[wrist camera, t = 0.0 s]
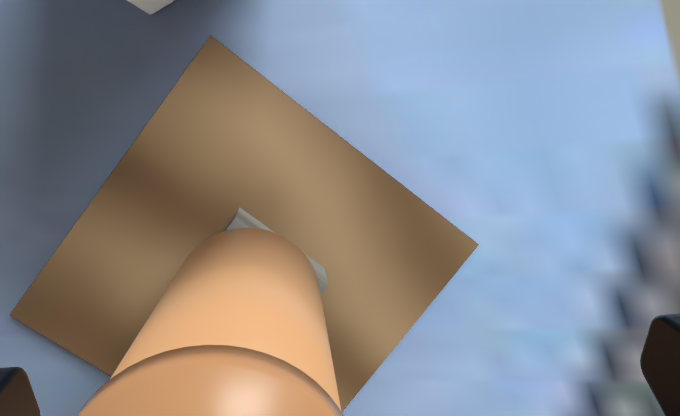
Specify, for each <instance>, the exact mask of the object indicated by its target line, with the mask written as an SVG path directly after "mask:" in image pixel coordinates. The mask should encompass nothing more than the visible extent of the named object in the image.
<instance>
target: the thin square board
mask: <svg viewBox="0 0 680 416" xmlns="http://www.w3.org/2000/svg"><path fill="white" fill-rule="evenodd" d="M235 228H258V229H264V230H268V231H271V232H274V233H277V234H279V235H281V236H283V237H285V238H286V239H288V240H290V241H291V242H292V243H294V244H295V245H296V246H297V247H299V248H300V250H301V251H302V252H303V253H304V254H305V255H306V256H307V258H308V259H309V261H310V262H311V264H312V266H313V268H314V270H315V273H316V276H317V278H318V283H319V288H320V294H321V299H322V305H323V311H324V316H325V322H326V328H327V333H328V339H329V344H330V350H331V356H332V361H333V367H334V372H335V378H336V384H337V389H338V395H339V401H340V406H341V412H342V411H343V410H344V409H345V408H346V406H347V405H348V404H349V403H350V401H351V400H352V399H353V398H354V397H355V395H356V394H357V393H358V392H359V390H360V389H361V388H362V387H363V386H364V384H365V383H366V382H367V381H368V379H369V378H370V377H371V376H372V375H373V373H374V372H375V371H376V370H377V368H378V367H379V366H380V365H381V364H382V362H383V361H384V360H385V359H386V357H387V356H388V355H389V354H390V353H391V351H392V350H393V349H394V348H395V346H396V345H397V344H398V343H399V342H400V340H401V339H402V338H403V337H404V335H405V334H406V333H407V332H408V331H409V329H410V328H411V327H412V326H413V324H414V323H415V322H416V321H417V320H418V318H419V317H420V316H421V315H422V313H423V312H424V311H425V310H426V309H427V307H428V306H429V305H430V304H431V302H432V301H433V300H434V299H435V298H436V296H437V295H438V294H439V293H440V291H441V290H442V289H443V288H444V287H445V285H446V284H447V283H448V282H449V280H450V279H451V278H452V277H453V276H454V274H455V273H456V272H457V271H458V269H459V268H460V267H461V266H462V265H463V263H464V262H465V261H466V260H467V258H468V257H469V256H470V255H471V254H472V252H473V251H474V250H475V249H476V247H477V246H478V245H479V244H477V243H476V242H475V241H474V240H472V239H471V238H470V237H468V236H467V235H466V234H465V233H463V232H462V231H461V230H459V229H458V228H457V227H456V226H454V225H453V224H452V223H450V222H449V221H448V220H447V219H445V218H444V217H443V216H442V215H440V214H439V213H438V212H436V211H435V210H434V209H433V208H431V207H430V206H429V205H427V204H426V203H425V202H424V201H422V200H421V199H420V198H418V197H417V196H416V195H415V194H413V193H412V192H411V191H410V190H408V189H407V188H406V187H404V186H403V185H402V184H401V183H399V182H398V181H397V180H395V179H394V178H393V177H392V176H390V175H389V174H388V173H386V172H385V171H384V170H383V169H381V168H380V167H379V166H378V165H376V164H375V163H374V162H372V161H371V160H370V159H369V158H367V157H366V156H365V155H363V154H362V153H361V152H360V151H358V150H357V149H356V148H354V147H353V146H352V145H351V144H349V143H348V142H347V141H346V140H344V139H343V138H342V137H340V136H339V135H338V134H337V133H335V132H334V131H333V130H331V129H330V128H329V127H328V126H326V125H325V124H324V123H322V122H321V121H320V120H319V119H317V118H316V117H315V116H314V115H312V114H311V113H310V112H308V111H307V110H306V109H305V108H303V107H302V106H301V105H299V104H298V103H297V102H296V101H294V100H293V99H292V98H291V97H289V96H288V95H287V94H285V93H284V92H283V91H282V90H280V89H279V88H278V87H276V86H275V85H274V84H273V83H271V82H270V81H269V80H267V79H266V78H265V77H264V76H262V75H261V74H260V73H259V72H257V71H256V70H255V69H253V68H252V67H251V66H250V65H248V64H247V63H246V62H244V61H243V60H242V59H241V58H239V57H238V56H237V55H235V54H234V53H233V52H232V51H230V50H229V49H228V48H227V47H225V46H224V45H223V44H221V43H220V42H219V41H218V40H216V39H215V38H214V37H212V36H210V37H209V38H208V40H207V41H206V43H205V44H204V45H203V47H202V48H201V50H200V51H199V52H198V54H197V55H196V56H195V58H194V59H193V61H192V62H191V63H190V65H189V66H188V68H187V69H186V70H185V72H184V73H183V75H182V76H181V77H180V79H179V80H178V81H177V83H176V84H175V86H174V87H173V88H172V90H171V91H170V93H169V94H168V95H167V97H166V98H165V100H164V101H163V102H162V104H161V105H160V107H159V108H158V109H157V111H156V112H155V113H154V115H153V116H152V118H151V119H150V120H149V122H148V123H147V125H146V126H145V127H144V129H143V130H142V132H141V133H140V134H139V136H138V137H137V138H136V140H135V141H134V143H133V144H132V145H131V147H130V148H129V150H128V151H127V152H126V154H125V155H124V157H123V158H122V159H121V161H120V162H119V163H118V165H117V166H116V168H115V169H114V170H113V172H112V173H111V175H110V176H109V177H108V179H107V180H106V182H105V183H104V184H103V186H102V187H101V189H100V190H99V191H98V193H97V194H96V195H95V197H94V198H93V200H92V201H91V202H90V204H89V205H88V207H87V208H86V209H85V211H84V212H83V214H82V215H81V216H80V218H79V219H78V220H77V222H76V223H75V225H74V226H73V227H72V229H71V230H70V232H69V233H68V234H67V236H66V237H65V239H64V240H63V241H62V243H61V244H60V246H59V247H58V248H57V250H56V251H55V252H54V254H53V255H52V257H51V258H50V259H49V261H48V262H47V264H46V265H45V266H44V268H43V269H42V271H41V272H40V273H39V275H38V276H37V277H36V279H35V280H34V282H33V283H32V284H31V286H30V287H29V289H28V290H27V291H26V293H25V294H24V296H23V297H22V298H21V300H20V301H19V302H18V304H17V305H16V307H15V308H14V309H13V311H12V312H11V314H10V316H12V317H13V318H15V319H17V320H18V321H20V322H22V323H23V324H25V325H27V326H28V327H30V328H32V329H33V330H35V331H37V332H38V333H40V334H42V335H43V336H45V337H47V338H48V339H50V340H52V341H53V342H55V343H57V344H58V345H60V346H62V347H63V348H65V349H67V350H68V351H70V352H72V353H73V354H75V355H77V356H78V357H80V358H82V359H83V360H85V361H87V362H88V363H90V364H92V365H93V366H95V367H97V368H98V369H100V370H102V371H103V372H105V373H107V374H108V375H110V376H112V375H113V373H114V372H115V370H116V369H117V367H118V365H119V364H120V362H121V361H122V359H123V358H124V356H125V354H126V353H127V351H128V350H129V348H130V346H131V345H132V343H133V342H134V340H135V339H136V337H137V335H138V334H139V332H140V331H141V329H142V327H143V326H144V324H145V323H146V321H147V319H148V318H149V316H150V315H151V313H152V312H153V310H154V308H155V307H156V305H157V304H158V302H159V300H160V299H161V297H162V296H163V294H164V293H165V291H166V289H167V288H168V286H169V285H170V283H171V281H172V280H173V278H174V277H175V275H176V273H177V272H178V270H179V269H180V267H181V266H182V264H183V262H184V261H185V259H186V258H187V256H188V255H189V254H190V253H191V252H192V251H193V249H195V248H196V247H197V246H198V245H199V244H200V243H202V242H203V241H205V240H206V239H208V238H209V237H211V236H213V235H215V234H217V233H220V232H223V231H226V230H231V229H235Z"/></svg>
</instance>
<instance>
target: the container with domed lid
mask: <svg viewBox="0 0 680 416" xmlns="http://www.w3.org/2000/svg"><path fill="white" fill-rule="evenodd" d="M77 416H343V414H342V412H341V406H340V401H339V395H338V389H337V384H336V378H335V372H334V367H333V361H332V356H331V350H330V344H329V339H328V333H327V328H326V322H325V316H324V311H323V305H322V299H321V294H320V288H319V283H318V278H317V276H316V273H315V270H314V268H313V266H312V264H311V262H310V261H309V259H308V258H307V256H306V255H305V254H304V253H303V252H302V251H301V250H300V248H299V247H297V246H296V245H295V244H294V243H292V242H291V241H290V240H288V239H286V238H285V237H283V236H281V235H279V234H277V233H274V232H271V231H268V230H264V229H258V228H235V229H231V230H226V231H223V232H220V233H217V234H215V235H213V236H211V237H209V238H208V239H206V240H205V241H203V242H202V243H200V244H199V245H198V246H197V247H196V248H195V249H193V251H192V252H191V253H190V254H189V255H188V256H187V258H186V259H185V261H184V262H183V264H182V266H181V267H180V269H179V270H178V272H177V273H176V275H175V277H174V278H173V280H172V281H171V283H170V285H169V286H168V288H167V289H166V291H165V293H164V294H163V296H162V297H161V299H160V300H159V302H158V304H157V305H156V307H155V308H154V310H153V312H152V313H151V315H150V316H149V318H148V319H147V321H146V323H145V324H144V326H143V327H142V329H141V331H140V332H139V334H138V335H137V337H136V339H135V340H134V342H133V343H132V345H131V346H130V348H129V350H128V351H127V353H126V354H125V356H124V358H123V359H122V361H121V362H120V364H119V365H118V367H117V369H116V370H115V372H114V373H113V375H112V377H111V378H110V380H109V381H107V382H106V383H105V384H104V385H103V386H102V387H101V388H99V389H98V390H97V391H96V392H95V393H94V395H93V396H92V397H91V398H90V399H89V400H88V401H87V403H86V404H85V405H84V406H83V408H82V409H81V411H80V412H79V414H78V415H77Z"/></svg>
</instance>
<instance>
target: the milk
mask: <svg viewBox="0 0 680 416" xmlns="http://www.w3.org/2000/svg"><path fill="white" fill-rule="evenodd" d="M127 1H129V2H130V3H132V4H133V5H135V6H137V7H138V8H140V9H141V10H143V11H145V12H146V13H148V14H150V15H151V14H154V13H155V12H157V11H159V10H160V9H162V8H164V7H165V6H167V5H169V4H170V3H172V2H173V1H175V0H127Z"/></svg>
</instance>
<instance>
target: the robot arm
mask: <svg viewBox="0 0 680 416" xmlns="http://www.w3.org/2000/svg"><path fill="white" fill-rule="evenodd" d="M640 363H641V369H642V372H643V375H644V377H645V379H646V381H647V383H648V384H649V386H650V388H651V390H652V392H653V394H654V396H655V398H656V399H657V401H658V403H659V405H660V407H661V409H662V411H663V413H664V414H665V416H680V314H669V315H660V316H657V317H655V318H654V320H653V321H652V322H651V325H650V328H649V331H648V334H647V338H646V341H645V344H644V348H643V351H642V354H641V360H640ZM0 416H40V410H39V407H38V404H37V401H36V399H35V396H34V393H33V390H32V387H31V385H30V382H29V379H28V376H27V374H26V372H25V371H24V370H23V369H22V368H19V367H8V368H0Z"/></svg>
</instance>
